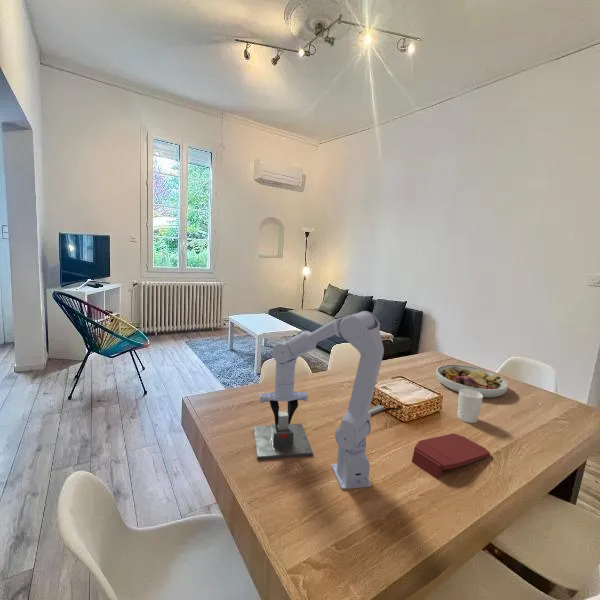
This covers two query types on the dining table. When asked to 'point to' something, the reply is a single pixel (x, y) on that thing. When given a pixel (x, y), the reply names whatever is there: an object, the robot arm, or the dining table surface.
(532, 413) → the dining table surface
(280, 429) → the post
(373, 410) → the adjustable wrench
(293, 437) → the stand
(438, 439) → the dark red bent panel
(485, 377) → the bowl
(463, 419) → the white cup
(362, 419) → the robot arm
